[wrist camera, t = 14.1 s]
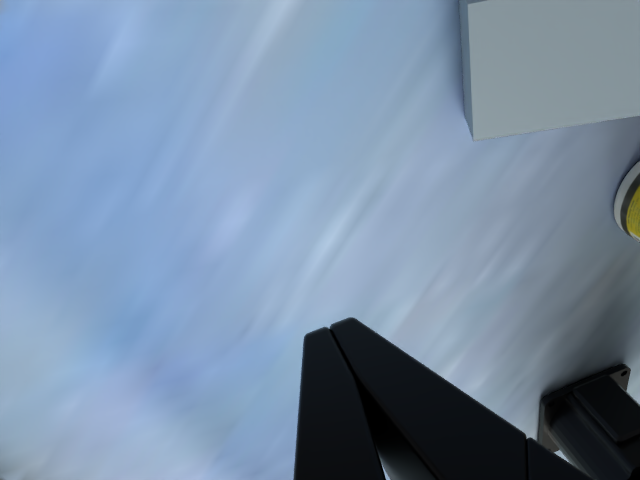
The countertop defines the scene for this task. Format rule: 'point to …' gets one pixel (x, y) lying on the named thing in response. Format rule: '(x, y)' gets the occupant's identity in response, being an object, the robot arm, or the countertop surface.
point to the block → (548, 64)
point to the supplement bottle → (629, 203)
